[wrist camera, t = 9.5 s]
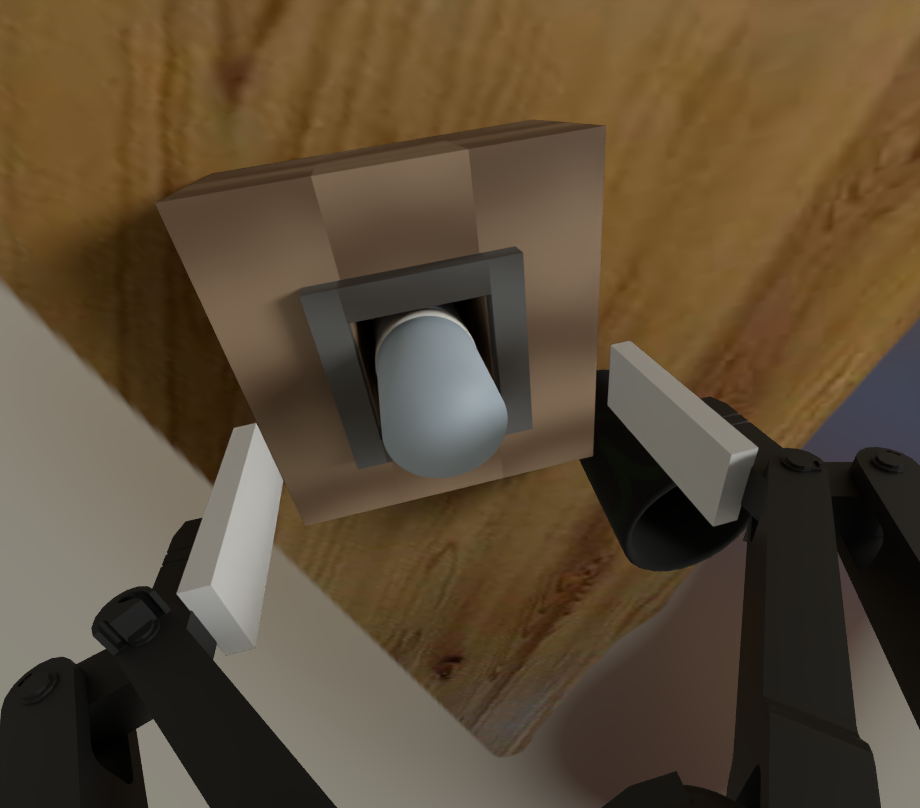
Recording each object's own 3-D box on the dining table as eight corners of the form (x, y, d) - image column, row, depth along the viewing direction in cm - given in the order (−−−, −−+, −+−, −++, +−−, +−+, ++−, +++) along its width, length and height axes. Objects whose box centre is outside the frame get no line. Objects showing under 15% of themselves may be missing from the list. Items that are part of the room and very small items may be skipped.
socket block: (211, 173, 22) (143, 208, 15) (533, 119, 24) (619, 126, 16) (313, 436, 31) (303, 540, 24) (543, 384, 33) (601, 467, 25)
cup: (550, 455, 36) (625, 588, 27) (538, 375, 32) (622, 497, 22) (642, 427, 37) (751, 547, 27) (643, 343, 32) (772, 449, 23)
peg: (362, 277, 25) (366, 386, 15) (445, 261, 25) (503, 358, 15) (381, 352, 27) (395, 490, 17) (456, 337, 28) (513, 463, 18)
